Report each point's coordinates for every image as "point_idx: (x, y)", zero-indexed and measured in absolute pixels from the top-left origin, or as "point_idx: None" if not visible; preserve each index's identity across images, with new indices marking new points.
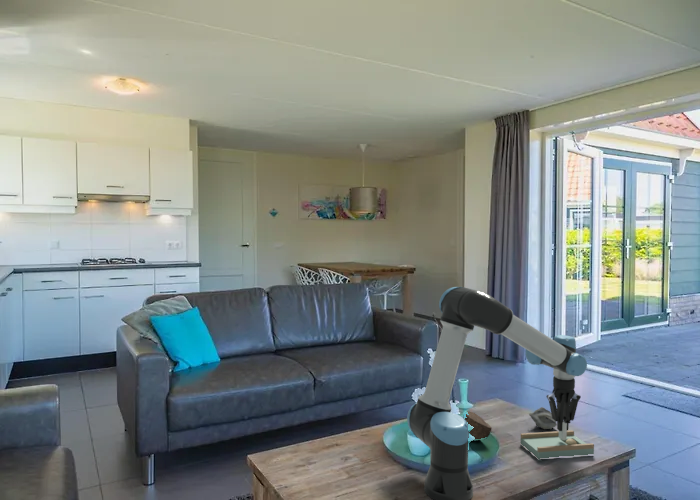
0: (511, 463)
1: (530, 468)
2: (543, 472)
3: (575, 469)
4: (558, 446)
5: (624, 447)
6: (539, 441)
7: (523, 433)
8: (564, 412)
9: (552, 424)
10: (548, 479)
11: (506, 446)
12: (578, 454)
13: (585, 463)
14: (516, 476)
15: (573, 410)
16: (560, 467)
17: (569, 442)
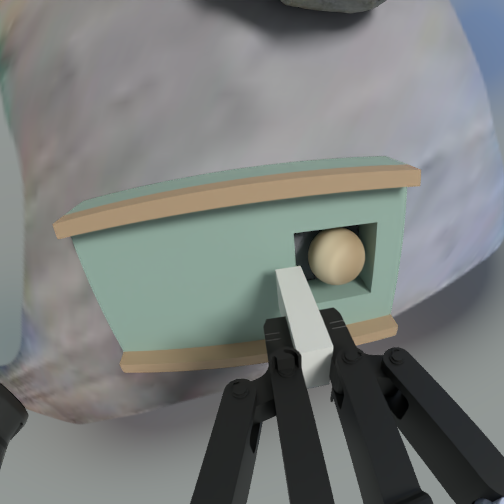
0: (55, 342)
1: (106, 370)
2: (140, 389)
3: None
4: (217, 365)
5: (501, 229)
6: (152, 265)
7: (66, 220)
8: (353, 431)
9: (361, 1)
10: (147, 409)
11: (32, 219)
12: None
13: None
14: (75, 391)
15: (416, 446)
16: (201, 373)
17: (322, 278)
